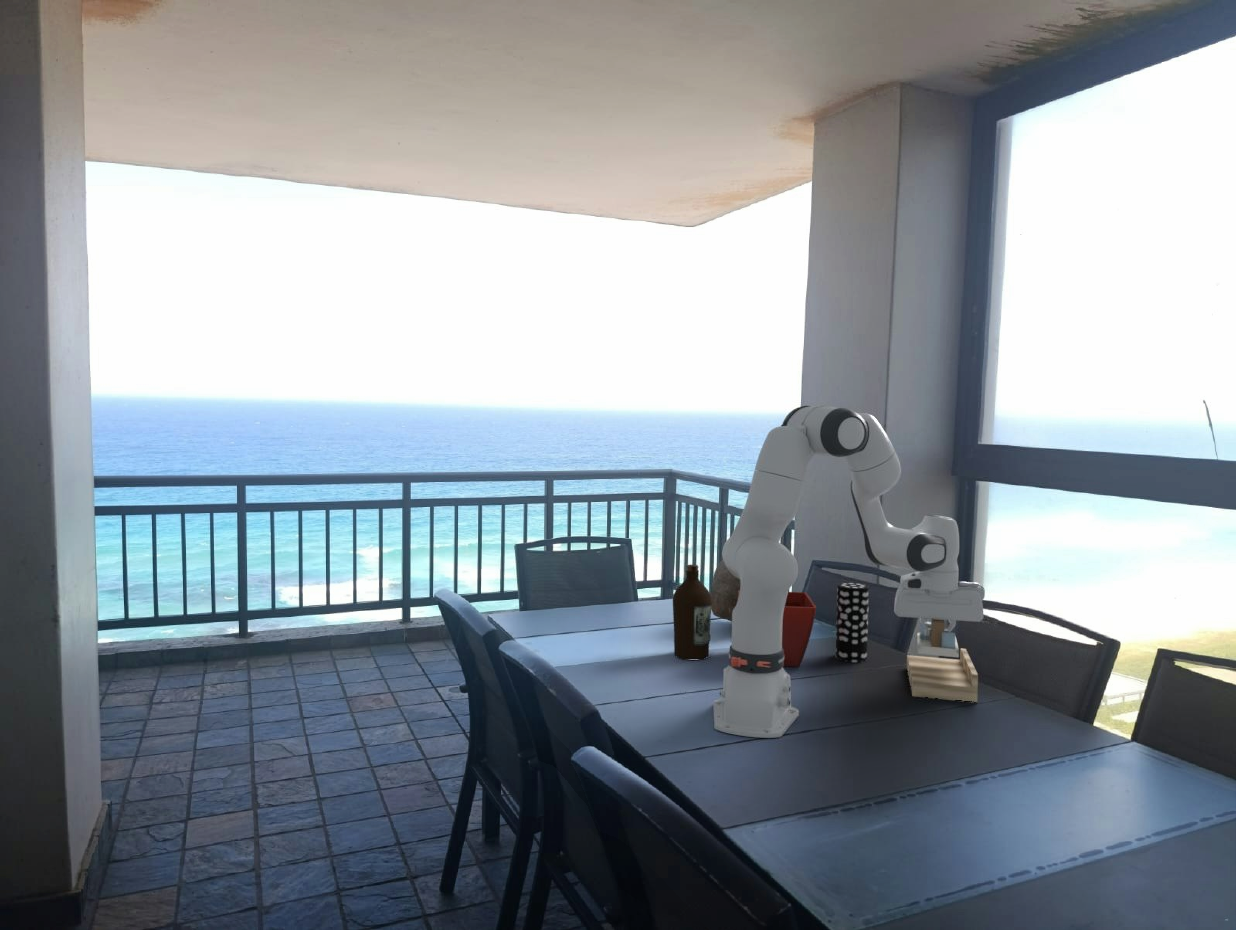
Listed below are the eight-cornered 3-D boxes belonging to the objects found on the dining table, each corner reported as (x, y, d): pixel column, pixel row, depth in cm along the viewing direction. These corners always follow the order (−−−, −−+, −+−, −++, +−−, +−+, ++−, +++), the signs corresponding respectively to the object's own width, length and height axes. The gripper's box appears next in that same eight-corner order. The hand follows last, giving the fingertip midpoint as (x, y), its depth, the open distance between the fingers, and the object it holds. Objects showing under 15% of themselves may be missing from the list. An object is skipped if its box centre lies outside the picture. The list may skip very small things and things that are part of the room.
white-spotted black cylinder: (863, 653, 217) (865, 582, 216) (870, 662, 209) (872, 589, 208) (833, 652, 218) (834, 581, 217) (838, 661, 210) (840, 588, 209)
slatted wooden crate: (977, 702, 179) (978, 675, 179) (912, 696, 184) (913, 668, 183) (964, 673, 200) (965, 648, 200) (906, 668, 205) (907, 643, 204)
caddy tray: (958, 657, 184) (959, 628, 184) (917, 653, 187) (918, 624, 187) (955, 642, 196) (956, 615, 196) (917, 639, 199) (917, 612, 199)
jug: (697, 621, 251) (698, 529, 250) (757, 617, 258) (758, 526, 256) (730, 641, 228) (732, 540, 226) (795, 636, 234) (797, 537, 233)
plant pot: (805, 650, 220) (806, 591, 219) (815, 671, 201) (816, 607, 200) (736, 648, 222) (737, 589, 221) (740, 668, 203) (741, 605, 202)
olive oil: (664, 655, 215) (665, 565, 213) (689, 647, 222) (690, 560, 221) (693, 663, 207) (694, 570, 206) (718, 655, 214) (720, 565, 213)
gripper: (982, 580, 191) (980, 636, 192) (894, 576, 197) (893, 630, 197) (987, 585, 185) (985, 643, 186) (896, 580, 190) (895, 636, 191)
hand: (937, 636), depth 192 cm, fingers closed on caddy tray, 3 cm apart
